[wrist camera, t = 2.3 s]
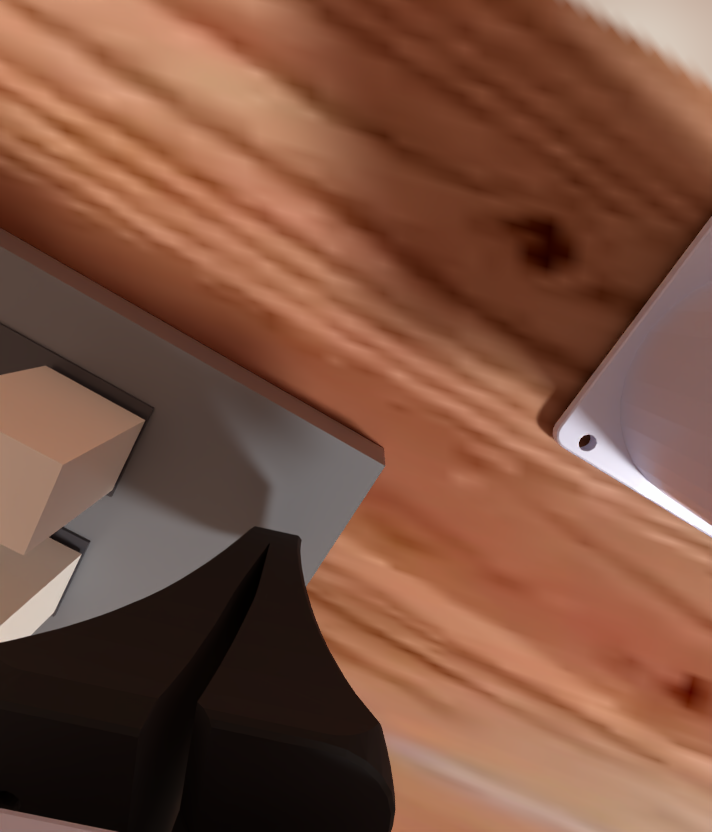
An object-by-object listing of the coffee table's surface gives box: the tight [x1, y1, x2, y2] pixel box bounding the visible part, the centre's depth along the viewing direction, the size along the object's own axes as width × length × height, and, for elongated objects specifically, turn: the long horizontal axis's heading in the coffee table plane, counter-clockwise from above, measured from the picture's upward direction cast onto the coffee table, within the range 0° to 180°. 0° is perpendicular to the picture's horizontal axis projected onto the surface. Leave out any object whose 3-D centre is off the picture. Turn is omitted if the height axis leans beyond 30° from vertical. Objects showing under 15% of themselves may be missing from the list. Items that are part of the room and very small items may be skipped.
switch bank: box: [0, 228, 385, 635], centre depth 15 cm, size 16×17×2 cm
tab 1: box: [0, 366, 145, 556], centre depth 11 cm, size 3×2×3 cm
